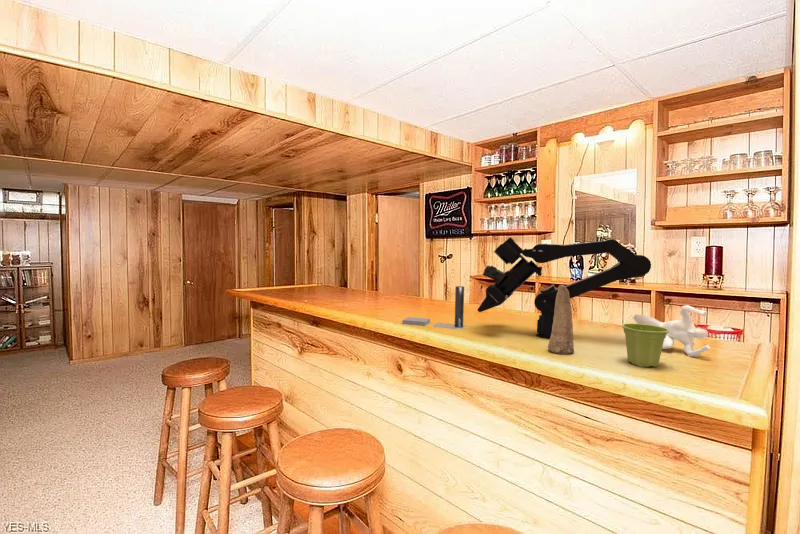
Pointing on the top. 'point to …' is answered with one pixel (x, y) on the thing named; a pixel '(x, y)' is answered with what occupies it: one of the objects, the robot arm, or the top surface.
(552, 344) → the stone cone
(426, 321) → the tile
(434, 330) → the top surface
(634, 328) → the plant pot
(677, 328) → the person figurine
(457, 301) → the upright dark post
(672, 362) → the top surface
